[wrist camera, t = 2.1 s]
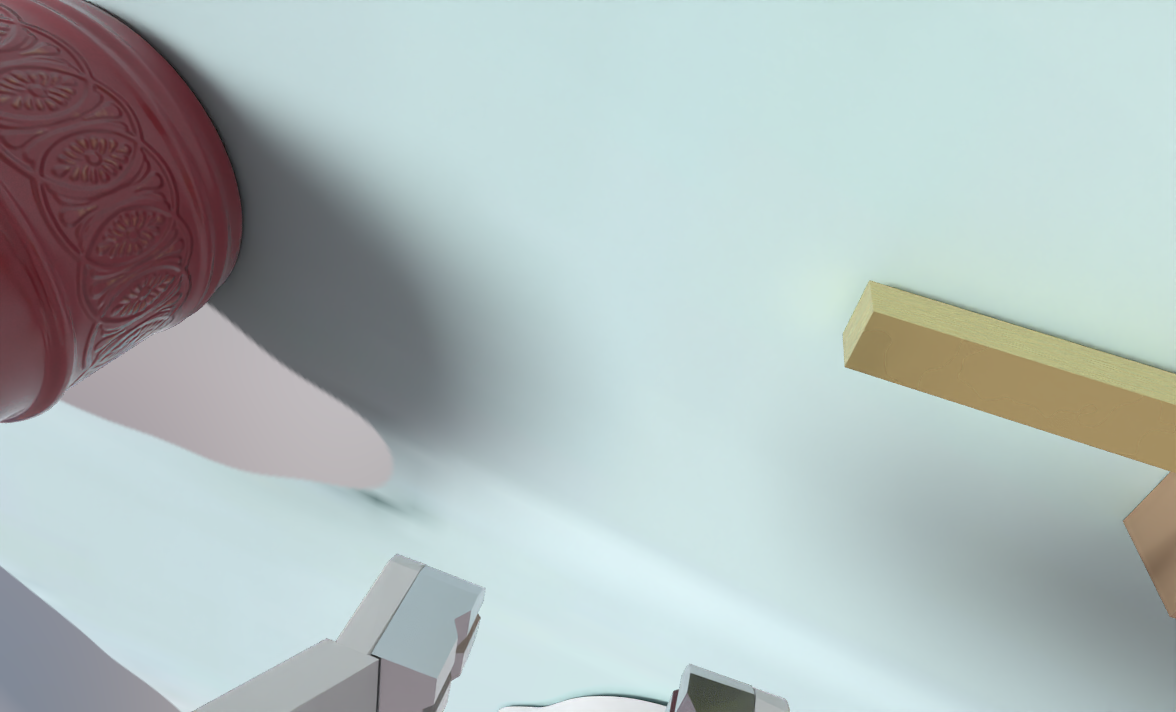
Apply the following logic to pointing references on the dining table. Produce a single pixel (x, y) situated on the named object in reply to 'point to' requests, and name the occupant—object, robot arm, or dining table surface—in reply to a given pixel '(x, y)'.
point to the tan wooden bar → (1015, 373)
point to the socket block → (1158, 538)
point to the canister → (99, 199)
